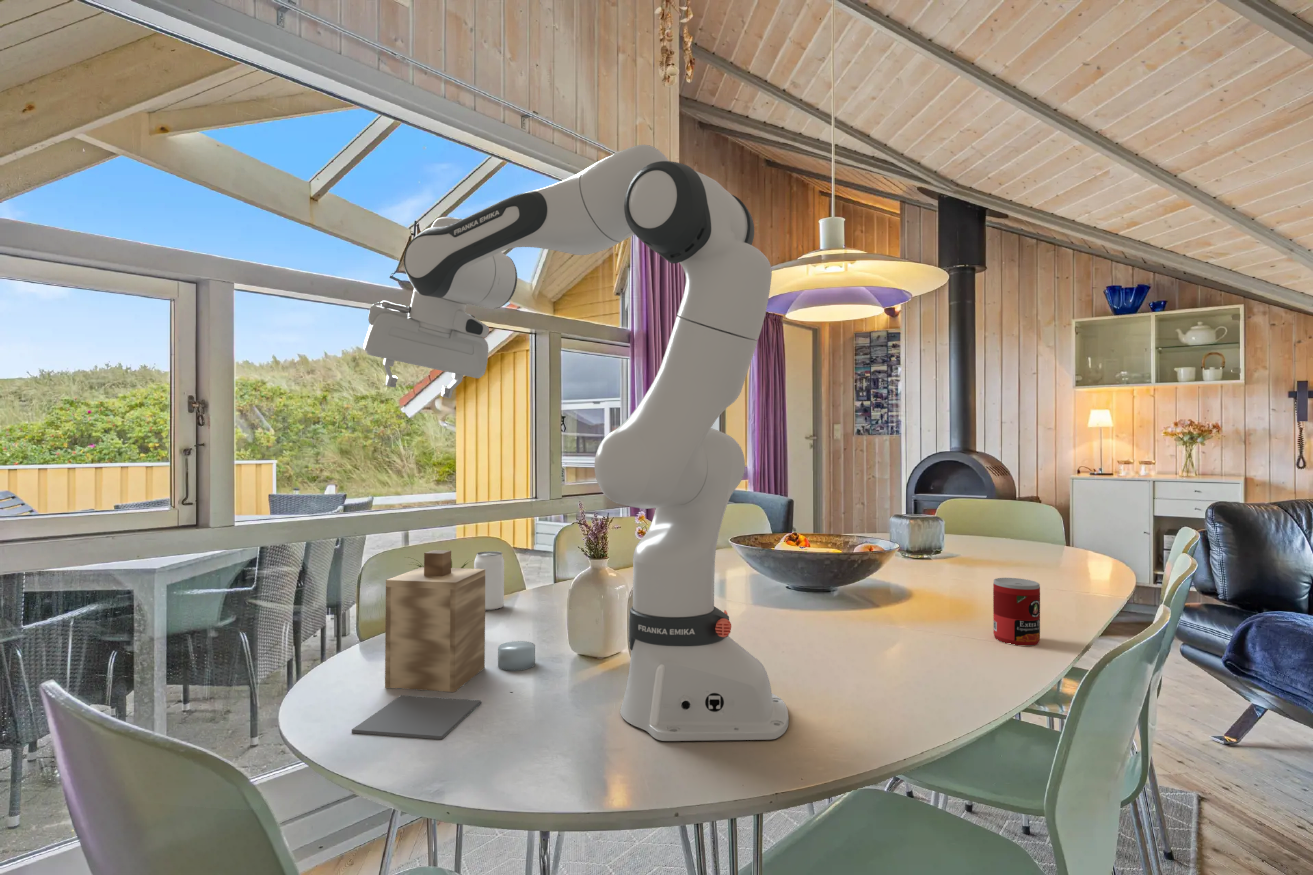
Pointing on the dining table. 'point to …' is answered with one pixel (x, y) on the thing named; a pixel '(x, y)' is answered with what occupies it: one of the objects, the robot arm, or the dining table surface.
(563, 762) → the dining table surface
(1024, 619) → the canned food
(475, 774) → the dining table surface
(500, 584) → the can
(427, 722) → the felt mat
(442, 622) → the oak cover
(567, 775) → the dining table surface
